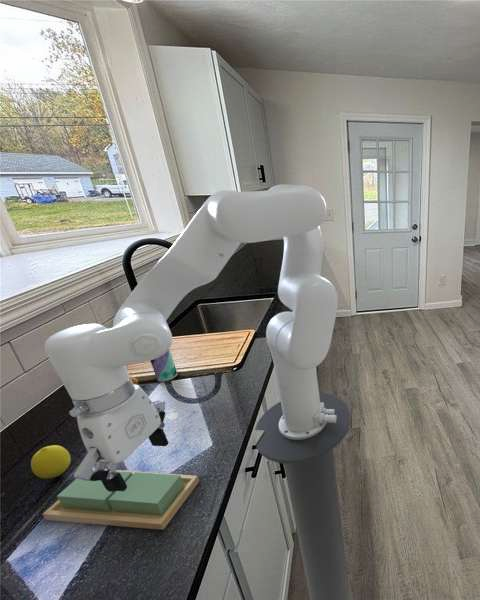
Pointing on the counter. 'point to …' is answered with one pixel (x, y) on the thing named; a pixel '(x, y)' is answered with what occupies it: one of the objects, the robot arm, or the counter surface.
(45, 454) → the lemon
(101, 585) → the counter surface
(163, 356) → the spray can
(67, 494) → the pad
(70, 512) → the tray
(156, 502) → the pad
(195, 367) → the counter surface
